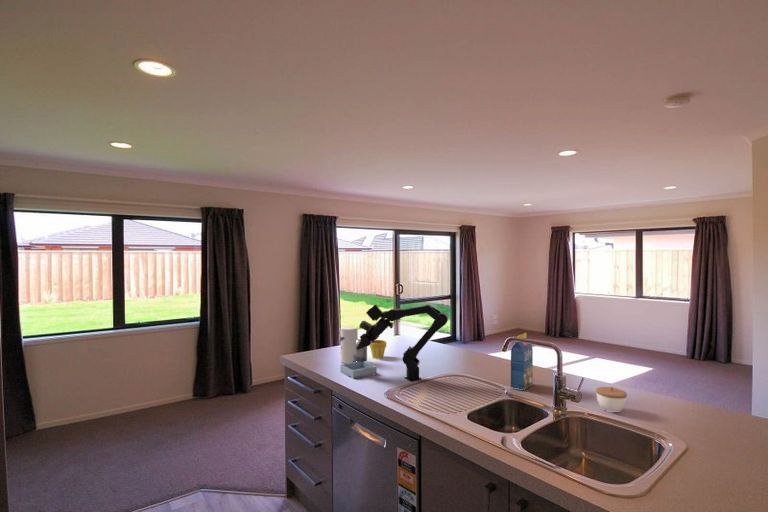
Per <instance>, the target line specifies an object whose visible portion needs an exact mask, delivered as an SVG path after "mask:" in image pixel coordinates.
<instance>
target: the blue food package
mask: <svg viewBox="0 0 768 512" xmlns="http://www.w3.org/2000/svg"><path fill="white" fill-rule="evenodd" d="M517 338H526V339H528V338H527V332H524V333H522V334H520V335H517V336H516V339H517ZM533 353H534V351H533V345H532V343H531V344H528V343H522V342H517V341H516V343H514V344H513V345H512V347H511V349H510V388H511V387H513V388H519V389H523V390H524V389H526V388H527V389H528V387H529V386H530V387H531V386H533V381H534V379H533V377H534V376H533V373H534V372H533V371H534V370H533V368H534V365H533V363H534V358H533V356H534V355H533ZM530 387H529V388H530ZM527 389H526V390H527ZM524 391H525V390H524Z"/></svg>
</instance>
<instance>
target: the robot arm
mask: <svg viewBox="0 0 768 512" xmlns="http://www.w3.org/2000/svg"><path fill="white" fill-rule="evenodd" d="M365 314H366V315H367V316H368V317H369V319H371V321H372V322H375V323H374V324H371V323H369V322H368V321H366V320H362V321H361V322H360V323H359V328H360V329H362V330H364V331H365V333H363V334H361V335H360V336H359V337H360V339H361V341H360V343H359V345H358V346H357V348H356V349H357V350H358V349H361V348H364V347H366V346H367V347H370V344H371V343H372V342H374V341H375V340H378V338H380V336H381V334H382V333H384V332H385V330H387V329H388V328H390V329H393V328H394V321H397V320H400V319H402V318H405V317H410V316H416V315H423V314H427V315H428V316H429V317H431V319H433V322H432V324H431V325H430V327H429V328H428V329H427V330H426V331H425V333H424V334H423V335H422V337H420V338H419V339H418V341H417V342H416V343H415V344H414V346H412V347H411V346H410V345H409V346H408V348H407V350H405V351H404V352H403V353H402V357H401V358H402V362H403V364H404V365H405V366H406V376H405V377H404V379H406V380H407V381H410V382H417V381H420V380H422V379H423V378H422V377H420V367H419V365H420V362H421V361H420V360H419V358H417V356H418V355H419V353H420V351H421V350H422V349H423V348H424V347H425V346H426V345H427V343H428V342H429V341H430V340H431V338H432V337H433V336H434V335H435V334H436V332H438V331H439V330H440V329H441V328H443V327H444V326H445V325H446V324H447V322H448V320H449V316H448V314H447V313H446V312H444V311H440V310H439V309H437V308H435V307H433V306H432V305H431V304H425V305H420V306H415V307H414V306H413V307H409V308H408V307H407V308H391V309H389V310H384V311H382V310H381V308H379V306H378V305H377V304H374V305H373V306H372V307H371V308H368V310H367V311H366V312H365Z"/></svg>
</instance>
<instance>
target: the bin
mask: <svg viewBox="0 0 768 512" xmlns="http://www.w3.org/2000/svg"><path fill="white" fill-rule="evenodd" d="M339 366H340V371H339V372H340V373H341V372H342V373H341V374H343V373H344V374H343V375H345V374H346V375H345V376H347V375H348V376H347V377H349V376H350V377H349V378H351V377H352V378H355V379H358V378H357V377H360V378H363V377H362V376H365V377H368V376H367V375H370V376H374V375H373V374H375V375H377V372H378V371H377V369H378V368H377V365H374V364H371V363H369V362H367V361H365V362H353V363H341V364H340V365H339ZM352 378H351V379H352Z"/></svg>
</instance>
